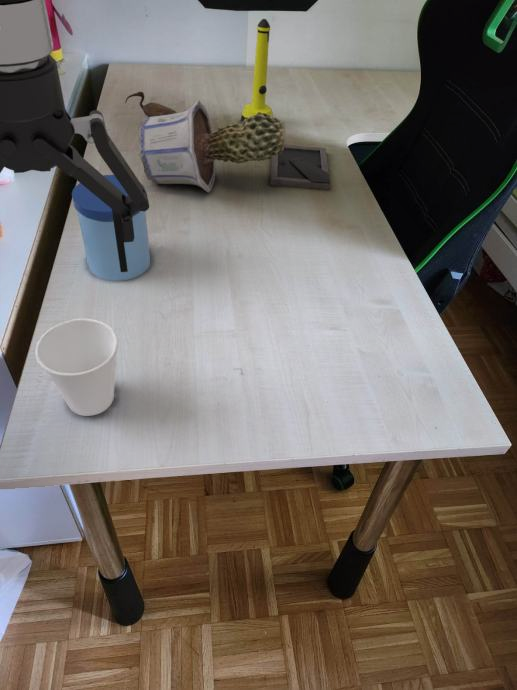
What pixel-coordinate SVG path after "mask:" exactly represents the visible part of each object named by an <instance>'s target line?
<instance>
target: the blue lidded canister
mask: <svg viewBox="0 0 517 690" xmlns="http://www.w3.org/2000/svg"><path fill="white" fill-rule="evenodd" d="M102 175H103V174H102ZM103 176H104V177H105V178H107V179H108V180H109V181H110V182H111V183H112V184H113V185H115V186H116V187H117V188H118V189H119V190H120V191H121V192H123V193H124V194H125V195H126V196H129V195H128V194H127V192H126V191H125V190H124V188H123V187H122V185H121V184H120V183H119V181H118V180H117V178H116V177H115V175H114V174H104V175H103ZM141 185H142V186H143V188H144V189H145V190H146V187H145V186H144V185H143V183H141ZM71 199H72V202H73V207H74V209H75V210H76V212H77V217H78V222H79V223H78V224H79V228H80V233H81V238H82V242H83V247H84V251H85V257H86V261H87V262H86V263H87V267H88V269H89V271H90V273H92V274H93V275H94V276H95V277H97V278H99V279H101V280H105V281H110V282H111V281H112V282H123V281H127V280H128V281H129V280H132V279H135V278H138V277H139V276H141V275H143V274H144V273H145V272H146V271H147V270H148V268H150V265H151V254H150V253H151V252H150V244H149V243H150V242H149V231H148V223H147V213H146V212H147V211H138V212H135V213H134V214H133V218H132V220H133V228H134V237H135V238H134V241H133V242H124V247H125V254H126V262H127V270H128V272H121V270H120V263H119V256H118V250H117V243H116V236H115V229H114V222H113V214H112V209H111V208H110V207H109V206H108V205H106V204H105V203H104V202H103V201H102V200H100V199H99V198H98V197H97V196H96V195H94V194H93V193H92V192H91V191H89V190H88V189H87V188H86V187H85V186H83V185H82V184H81V183H80V182H78V184H77V185H75V186H74V188H73V189H72V191H71Z"/></svg>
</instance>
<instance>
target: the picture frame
mask: <svg viewBox="0 0 517 690" xmlns="http://www.w3.org/2000/svg"><path fill="white" fill-rule="evenodd" d="M327 156H328V155H327V149H326V147H316V146H306V145H294V144H285V146H284V148H283V150H282V151H281V154H276V156H275V157H273V158H272V159H271V165H270V186H273V187H274V186H275V187H283V188H284V187H286V188H299V189H307V190H309V189H310V190H321V191H329V190H330V185H331V180H330V173H329V165H328V157H327Z"/></svg>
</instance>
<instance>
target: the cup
mask: <svg viewBox="0 0 517 690" xmlns="http://www.w3.org/2000/svg"><path fill="white" fill-rule="evenodd" d="M118 348H119V337H118V334H117V333H116V331H115V329H113V327H111V326H110V325H109V324H107V323H106V322H104V321H102V320H99V319H93V318H85V317H84V318H81V317H80V318H73V319H68V320H65V321H62V322H60V323H58V324H56V325H53V326H52V327H50V328H48V330H46V331H45V332H44V333H43V334H42V335H41V336H40V338H39V339H38V341H37V343H36V345H35V351H34V353H35V358H36V361H37V364H38V365H39V366H40V367H41V368H42V369H43V370H45V372H46V373H47V375H48V376H49V378H50V380H51V381H52V382H53V384H54V385H55V387H56V389H57V391H58V393H60V395H61V397H62V398H63V400H64V402H65V403H66V404H67V407H69V409H70V410H71V411H72V412H73V413H74V414H77V415H79V416H82V417H83V416H84V417H90V416H96V415H99V414H101V413H103V412H105V411H106V410H107V409H108V408H109V407H110V406H111V405H112V403H113V402H114V399H115V382H116V365H117V352H118Z"/></svg>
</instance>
